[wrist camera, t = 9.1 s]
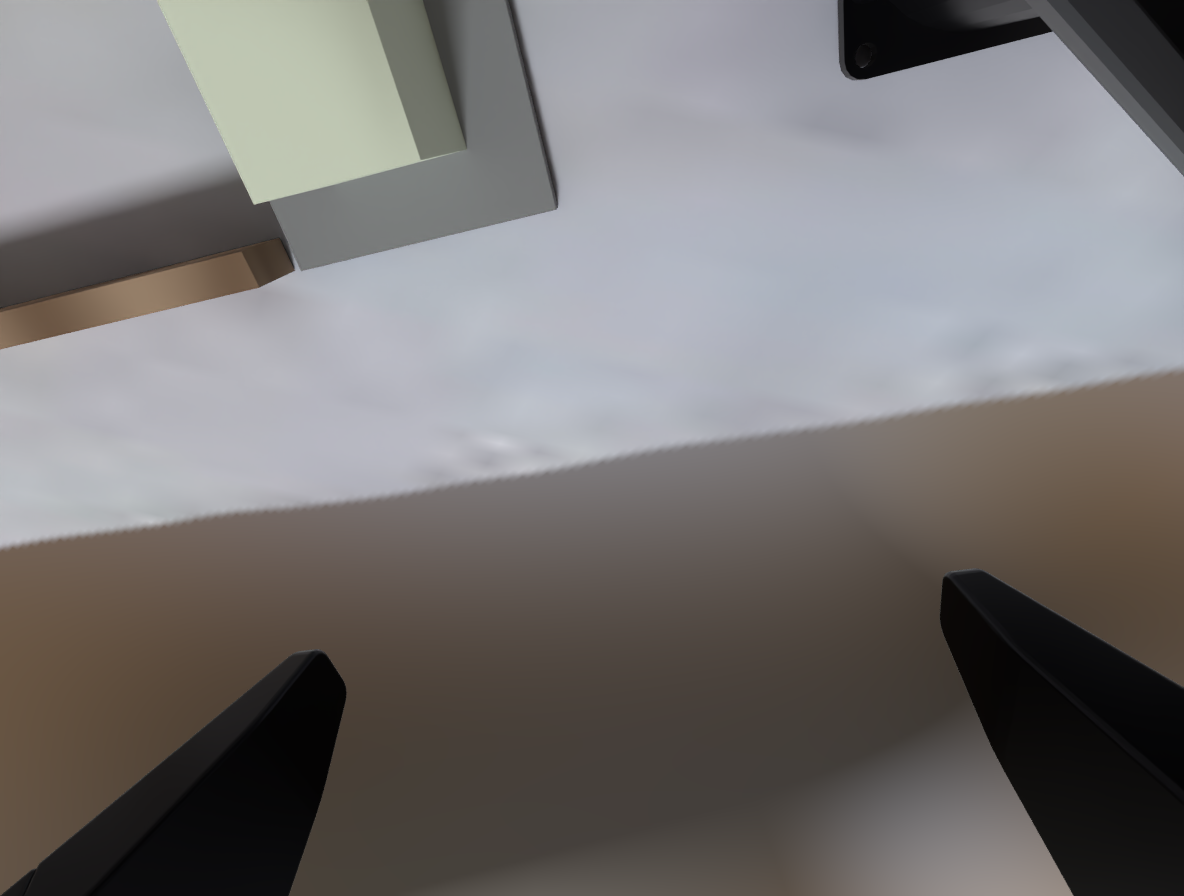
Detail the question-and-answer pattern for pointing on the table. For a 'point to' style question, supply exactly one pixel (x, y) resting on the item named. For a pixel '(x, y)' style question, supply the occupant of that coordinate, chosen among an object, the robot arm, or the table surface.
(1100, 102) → the table surface
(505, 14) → the mat
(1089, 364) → the table surface
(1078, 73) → the table surface
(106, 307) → the frame
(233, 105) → the sage block
